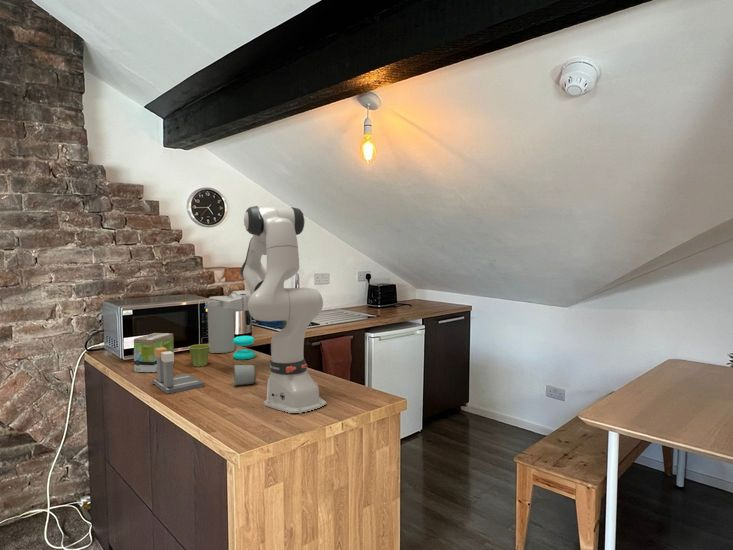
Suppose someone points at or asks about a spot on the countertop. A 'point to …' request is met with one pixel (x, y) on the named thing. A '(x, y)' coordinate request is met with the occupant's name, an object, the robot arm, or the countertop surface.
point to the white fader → (168, 368)
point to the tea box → (150, 350)
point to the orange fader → (160, 363)
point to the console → (180, 383)
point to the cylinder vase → (220, 330)
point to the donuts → (243, 353)
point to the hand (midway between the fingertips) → (206, 304)
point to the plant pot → (199, 354)
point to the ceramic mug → (244, 374)
